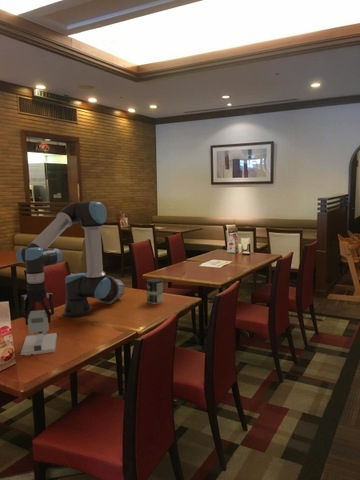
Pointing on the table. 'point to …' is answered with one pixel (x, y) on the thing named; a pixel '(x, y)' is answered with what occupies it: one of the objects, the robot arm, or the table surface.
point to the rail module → (37, 321)
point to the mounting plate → (39, 344)
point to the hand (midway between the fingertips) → (38, 330)
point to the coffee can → (155, 290)
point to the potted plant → (113, 291)
